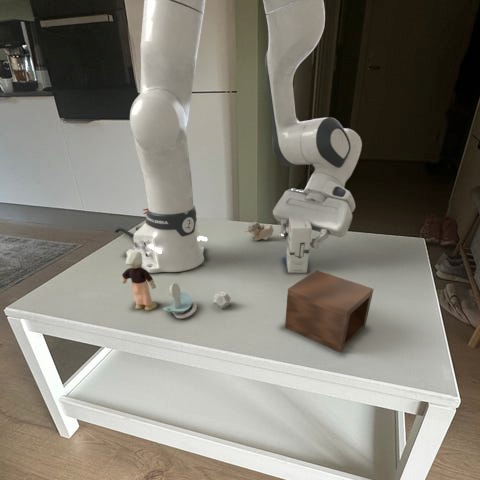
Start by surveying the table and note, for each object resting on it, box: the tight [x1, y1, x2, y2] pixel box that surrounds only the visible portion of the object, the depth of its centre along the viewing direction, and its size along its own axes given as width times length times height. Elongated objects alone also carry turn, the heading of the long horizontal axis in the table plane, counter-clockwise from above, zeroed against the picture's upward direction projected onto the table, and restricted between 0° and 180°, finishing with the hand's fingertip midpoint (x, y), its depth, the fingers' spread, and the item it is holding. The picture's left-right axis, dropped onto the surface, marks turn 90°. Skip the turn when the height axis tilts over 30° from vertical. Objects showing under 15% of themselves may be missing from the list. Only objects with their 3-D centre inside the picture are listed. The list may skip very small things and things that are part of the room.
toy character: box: [244, 221, 274, 241], centre depth 109 cm, size 4×8×6 cm, turn 79°
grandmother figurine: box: [121, 250, 157, 311], centre depth 75 cm, size 8×4×13 cm, turn 84°
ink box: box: [285, 217, 313, 274], centre depth 91 cm, size 9×5×12 cm, turn 178°
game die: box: [213, 290, 231, 310], centre depth 78 cm, size 4×4×3 cm
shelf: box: [284, 269, 375, 354], centre depth 69 cm, size 12×10×9 cm
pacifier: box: [162, 282, 198, 319], centre depth 75 cm, size 7×6×6 cm
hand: (297, 242), depth 91 cm, fingers closed on ink box, 8 cm apart
